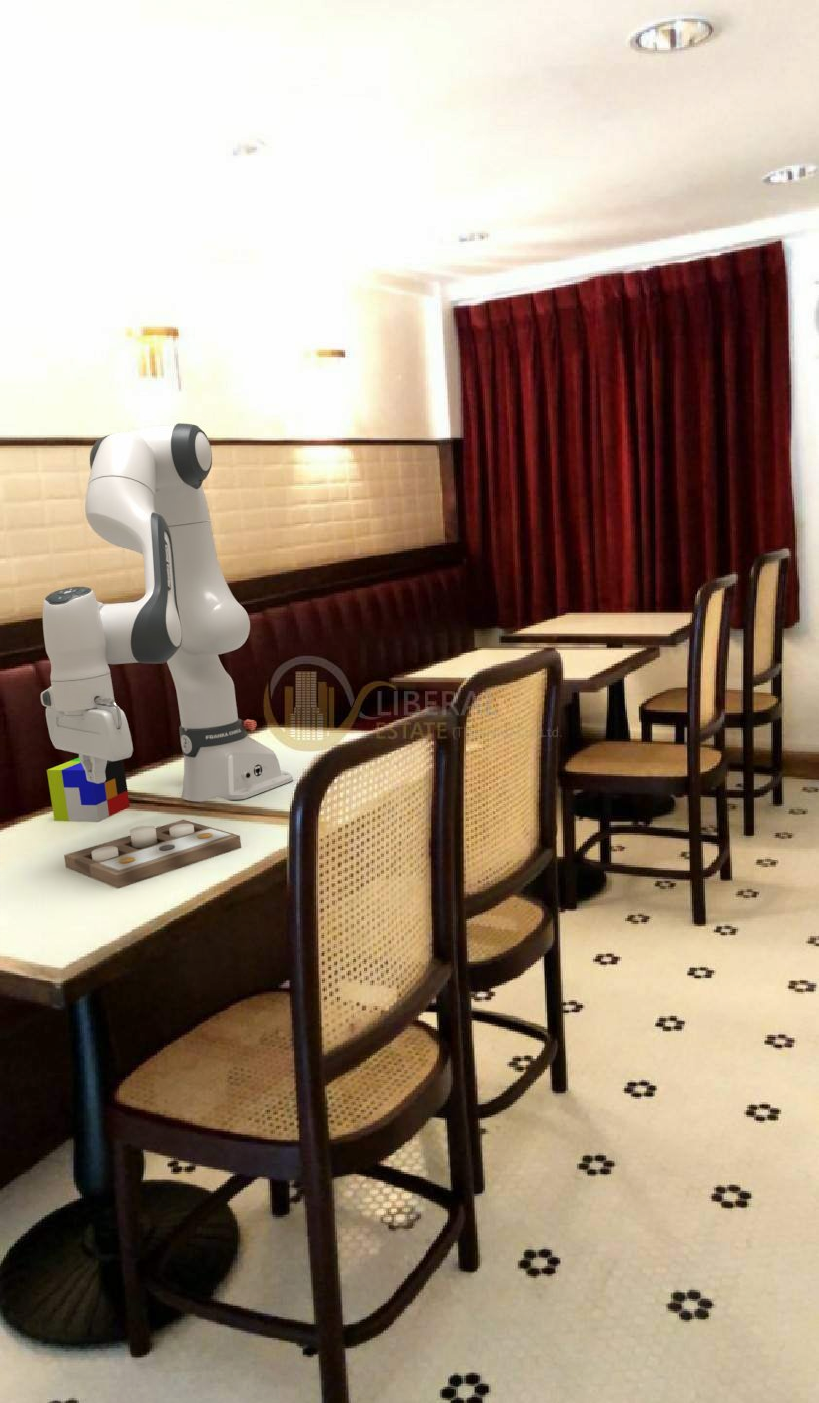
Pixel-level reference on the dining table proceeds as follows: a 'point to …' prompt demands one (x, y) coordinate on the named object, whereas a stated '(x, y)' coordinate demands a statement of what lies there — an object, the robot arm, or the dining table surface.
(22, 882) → the dining table surface
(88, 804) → the puzzle toy
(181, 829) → the button
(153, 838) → the middle button
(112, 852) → the button
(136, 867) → the console
